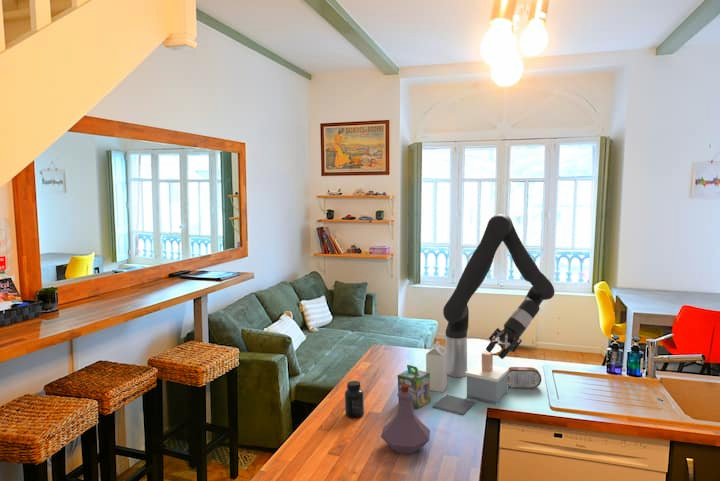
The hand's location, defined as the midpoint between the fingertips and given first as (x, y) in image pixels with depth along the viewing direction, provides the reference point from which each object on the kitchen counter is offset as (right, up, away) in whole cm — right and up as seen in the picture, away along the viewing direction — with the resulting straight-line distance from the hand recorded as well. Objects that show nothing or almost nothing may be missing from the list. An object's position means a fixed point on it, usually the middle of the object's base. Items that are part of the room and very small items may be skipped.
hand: (493, 354), depth 190 cm
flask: (-38, -21, -36) cm, 57 cm away
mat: (-17, -17, -7) cm, 25 cm away
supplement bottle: (-55, -19, -13) cm, 59 cm away
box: (-2, -16, +1) cm, 17 cm away
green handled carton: (-32, -18, -4) cm, 37 cm away
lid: (-3, -7, 0) cm, 8 cm away
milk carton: (-21, -16, +9) cm, 28 cm away
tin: (+14, -16, +7) cm, 22 cm away
